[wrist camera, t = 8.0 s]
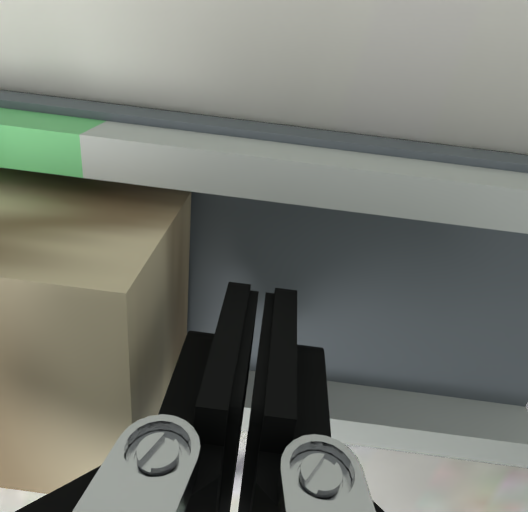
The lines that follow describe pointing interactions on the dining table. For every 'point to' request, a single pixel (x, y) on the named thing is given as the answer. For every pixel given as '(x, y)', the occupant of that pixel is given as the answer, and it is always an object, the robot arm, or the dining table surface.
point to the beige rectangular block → (84, 318)
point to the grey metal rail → (336, 256)
